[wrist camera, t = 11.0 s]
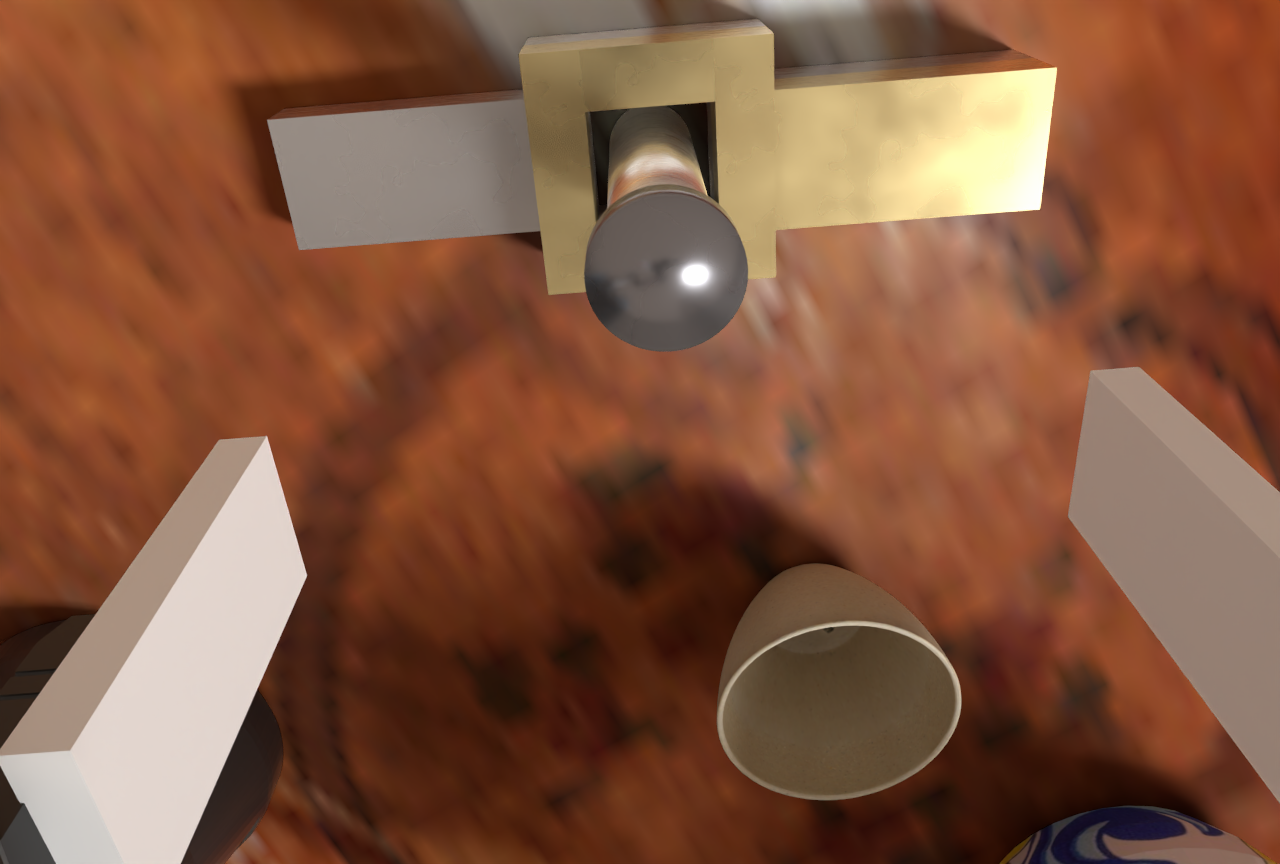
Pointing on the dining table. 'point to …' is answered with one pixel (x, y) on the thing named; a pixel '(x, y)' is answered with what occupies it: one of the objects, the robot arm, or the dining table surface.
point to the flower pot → (833, 688)
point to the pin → (662, 240)
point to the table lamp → (1133, 840)
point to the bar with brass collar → (737, 143)
